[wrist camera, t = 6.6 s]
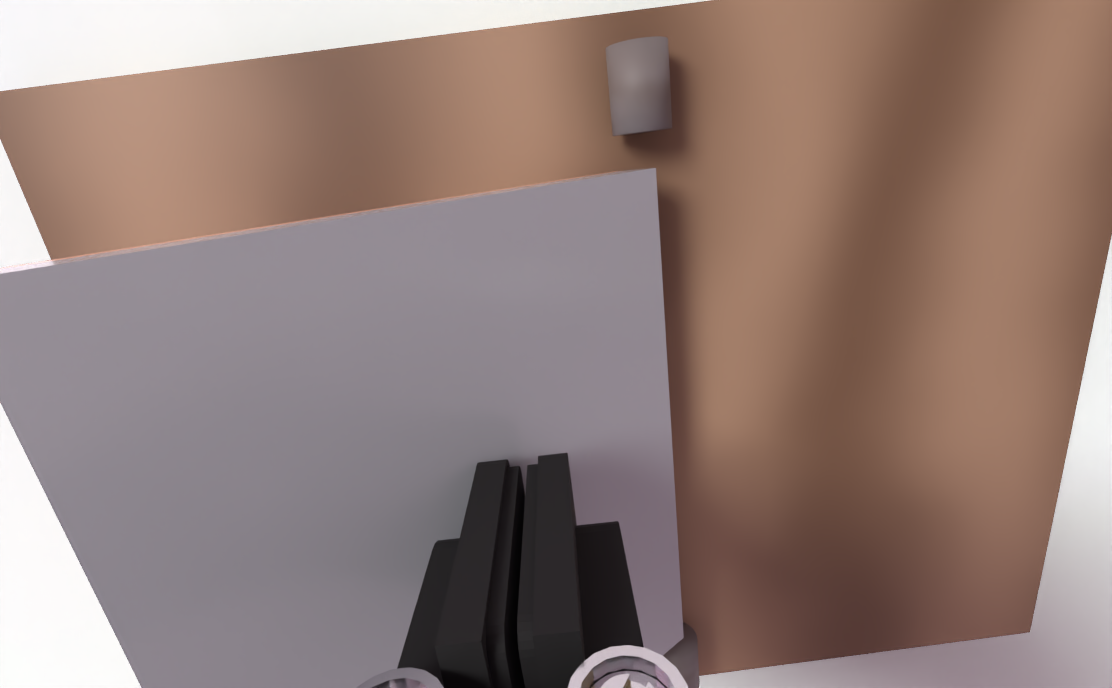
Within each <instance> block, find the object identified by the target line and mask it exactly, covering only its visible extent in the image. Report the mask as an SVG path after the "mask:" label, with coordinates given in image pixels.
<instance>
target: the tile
mask: <svg viewBox="0 0 1112 688" xmlns="http://www.w3.org/2000/svg"><path fill="white" fill-rule="evenodd" d="M0 403H1V405H2V407H3V409H4V411H5V413H6V415H7V417H8V419H9V421H10V423H11V425H12V427H13V429H14V431H15V433H16V435H17V437H18V439H19V441H20V443H21V445H22V447H23V449H24V451H25V453H26V455H27V457H28V459H29V461H30V463H31V465H32V467H33V469H34V471H35V473H36V475H37V477H38V479H39V481H40V483H41V485H42V487H43V489H44V491H45V493H46V495H47V497H48V499H49V501H50V503H51V506H52V508H53V510H54V512H55V514H56V516H57V518H58V520H59V522H60V524H61V526H62V528H63V530H64V532H65V534H66V536H67V538H68V540H69V542H70V544H71V546H72V548H73V550H74V552H75V554H76V556H77V558H78V560H79V562H80V564H81V566H82V568H83V570H84V572H85V574H86V576H87V578H88V580H89V582H90V584H91V586H92V588H93V590H94V592H95V594H96V596H97V598H98V600H99V602H100V604H101V607H102V609H103V611H104V613H105V615H106V617H107V619H108V621H109V623H110V625H111V627H112V629H113V631H114V633H115V635H116V637H117V639H118V641H119V643H120V645H121V647H122V649H123V651H124V653H125V655H126V657H127V659H128V661H129V663H130V665H131V667H132V669H133V671H134V673H135V675H136V677H137V679H138V681H139V683H140V685H141V687H142V688H356V687H357V686H359V685H361V684H362V683H364V682H365V681H367V680H369V679H370V678H372V677H373V676H375V675H378V674H381V673H383V672H386V671H389V670H392V669H397V667H398V664H399V660H400V657H401V654H402V650H403V647H404V644H405V640H406V637H407V633H408V630H409V627H410V623H411V620H412V617H413V613H414V610H415V606H416V603H417V600H418V596H419V593H420V590H421V586H422V583H423V579H424V576H425V573H426V569H427V566H428V563H429V559H430V556H431V552H432V549H433V547H434V544H435V543H436V542H437V541H438V540H447V539H456V538H460V534H461V530H462V526H463V521H464V517H465V513H466V509H467V504H468V500H469V496H470V491H471V487H472V483H473V479H474V474H475V470H476V466H477V463H479V462H487V461H496V460H505V459H508V461H509V464H510V467H514V466H520V468H521V472H522V478H523V485H524V491H525V492H526V476H527V465H532V464H538V456H541V455H550V454H559V453H568V459H569V467H570V475H571V483H572V491H573V499H574V507H575V515H576V523H577V525H586V524H595V523H605V522H614V521H618V522H619V525H620V530H621V535H622V540H623V545H624V550H625V555H626V560H627V565H628V570H629V575H630V580H631V585H632V590H633V595H634V600H635V605H636V610H637V615H638V620H639V626H640V631H641V636H642V641H643V646H644V648H647V649H649V650H652V651H654V652H656V653H658V654H660V655H662V656H663V655H664V654H665V653H666V652H668V651H669V650H670V649H671V648H672V647H673V646H675V645H676V644H677V643H678V642H679V641H680V640H682V639H683V638H684V635H683V618H682V601H681V584H680V567H679V550H678V534H677V517H676V500H675V483H674V466H673V449H672V432H671V415H670V399H669V382H668V365H667V348H666V331H665V314H664V297H663V280H662V264H661V247H660V230H659V213H658V196H657V179H656V168H649V169H636V170H624V171H613V172H607V173H600V174H594V175H588V176H581V177H575V178H569V179H562V180H556V181H550V182H543V183H537V184H531V185H524V186H518V187H511V188H505V189H499V190H492V191H486V192H480V193H473V194H467V195H461V196H454V197H448V198H441V199H435V200H429V201H422V202H416V203H410V204H403V205H397V206H391V207H384V208H378V209H372V210H365V211H359V212H352V213H346V214H340V215H333V216H327V217H321V218H314V219H308V220H302V221H295V222H289V223H282V224H276V225H270V226H263V227H257V228H251V229H244V230H238V231H232V232H225V233H219V234H212V235H206V236H200V237H193V238H187V239H181V240H174V241H168V242H162V243H155V244H149V245H143V246H136V247H130V248H123V249H117V250H111V251H104V252H98V253H92V254H85V255H79V256H73V257H66V258H60V259H53V260H47V261H41V262H34V263H28V264H22V265H15V266H9V267H3V268H0Z"/></svg>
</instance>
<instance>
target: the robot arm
mask: <svg viewBox="0 0 1112 688" xmlns="http://www.w3.org/2000/svg"><path fill="white" fill-rule="evenodd" d="M356 688H688V685H687V683H686V682H685V680H684V678H683V677H682V675H681V674H680V672H679V671H678V669H677V668H676V667H675V666H674V665H673V664H672V663H671V662H669V661H668V660H667V659H666V658H665V657H664V656H662V655H660V654H658V653H656V652H654V651H652V650H649V649H647V648H644V646H643V641H642V636H641V631H640V626H639V620H638V615H637V610H636V605H635V600H634V595H633V590H632V585H631V580H630V575H629V570H628V565H627V560H626V555H625V550H624V545H623V540H622V535H621V530H620V525H619V522H618V521H614V522H605V523H595V524H586V525H577V523H576V515H575V507H574V499H573V491H572V483H571V475H570V467H569V459H568V453H559V454H550V455H541V456H538V464H532V465H527V476H526V492H525V491H524V485H523V478H522V472H521V468H520V466H514V467H510V464H509V461H508V459H505V460H496V461H487V462H479V463H477V466H476V470H475V474H474V479H473V483H472V487H471V491H470V496H469V500H468V504H467V509H466V513H465V517H464V521H463V526H462V530H461V534H460V538H456V539H447V540H438V541H437V542H436V543H435V544H434V547H433V549H432V552H431V556H430V559H429V563H428V566H427V569H426V573H425V576H424V579H423V583H422V586H421V590H420V593H419V596H418V600H417V603H416V606H415V610H414V613H413V617H412V620H411V623H410V627H409V630H408V633H407V637H406V640H405V644H404V647H403V650H402V654H401V657H400V660H399V664H398V667H397V669H392V670H389V671H386V672H383V673H381V674H378V675H375V676H373V677H372V678H370V679H369V680H367V681H365V682H364V683H362V684H361V685H359V686H357V687H356Z"/></svg>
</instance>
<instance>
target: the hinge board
mask: <svg viewBox="0 0 1112 688" xmlns="http://www.w3.org/2000/svg"><path fill="white" fill-rule="evenodd" d="M0 139H1V142H2V144H3V146H4V149H5V151H6V153H7V156H8V158H9V160H10V163H11V165H12V168H13V170H14V172H15V175H16V177H17V179H18V182H19V184H20V186H21V189H22V191H23V194H24V196H25V198H26V201H27V203H28V205H29V208H30V210H31V212H32V215H33V217H34V220H35V222H36V224H37V227H38V229H39V231H40V234H41V236H42V239H43V241H44V243H45V246H46V248H47V250H48V253H49V255H50V257H51V260H53V259H60V258H66V257H73V256H79V255H85V254H92V253H98V252H104V251H111V250H117V249H123V248H130V247H136V246H143V245H149V244H155V243H162V242H168V241H174V240H181V239H187V238H193V237H200V236H206V235H212V234H219V233H225V232H232V231H238V230H244V229H251V228H257V227H263V226H270V225H276V224H282V223H289V222H295V221H302V220H308V219H314V218H321V217H327V216H333V215H340V214H346V213H352V212H359V211H365V210H372V209H378V208H384V207H391V206H397V205H403V204H410V203H416V202H422V201H429V200H435V199H441V198H448V197H454V196H461V195H467V194H473V193H480V192H486V191H492V190H499V189H505V188H511V187H518V186H524V185H531V184H537V183H543V182H550V181H556V180H562V179H569V178H575V177H581V176H588V175H594V174H600V173H607V172H613V171H624V170H636V169H649V168H656V179H657V196H658V213H659V230H660V247H661V264H662V280H663V297H664V314H665V331H666V348H667V365H668V382H669V399H670V415H671V432H672V449H673V466H674V483H675V500H676V517H677V534H678V550H679V567H680V584H681V601H682V618H683V635H684V638H683V639H682V640H680V641H679V642H678V643H677V644H676V645H675V646H673V647H672V648H671V649H670V650H669V651H668V652H666V653H665V654H664V655H663V656H664V657H665V658H666V659H667V660H668V661H669V662H671V663H672V664H673V665H674V666H675V667H676V668H677V669H678V671H679V672H680V674H681V675H682V677H683V678H684V680H685V682H686V683H687V685H688V688H699V676H701V675H708V674H716V673H724V672H731V671H739V670H746V669H754V668H761V667H769V666H777V665H784V664H792V663H799V662H807V661H815V660H822V659H830V658H837V657H845V656H853V655H860V654H868V653H875V652H883V651H891V650H898V649H906V648H913V647H921V646H929V645H936V644H944V643H951V642H959V641H966V640H974V639H982V638H989V637H997V636H1004V635H1012V634H1020V633H1027V632H1030V628H1031V623H1032V619H1033V614H1034V609H1035V604H1036V599H1037V594H1038V590H1039V585H1040V580H1041V575H1042V570H1043V565H1044V560H1045V556H1046V551H1047V546H1048V541H1049V536H1050V531H1051V526H1052V522H1053V517H1054V512H1055V507H1056V502H1057V497H1058V492H1059V488H1060V483H1061V478H1062V473H1063V468H1064V463H1065V458H1066V454H1067V449H1068V444H1069V439H1070V434H1071V429H1072V424H1073V420H1074V415H1075V410H1076V405H1077V400H1078V395H1079V390H1080V386H1081V381H1082V376H1083V371H1084V366H1085V361H1086V356H1087V352H1088V347H1089V342H1090V337H1091V332H1092V327H1093V322H1094V318H1095V313H1096V308H1097V303H1098V298H1099V293H1100V288H1101V284H1102V279H1103V274H1104V269H1105V264H1106V259H1107V254H1108V250H1109V245H1110V240H1111V235H1112V0H712V1H704V2H696V3H688V4H681V5H673V6H665V7H657V8H649V9H641V10H634V11H626V12H618V13H610V14H602V15H594V16H587V17H579V18H571V19H563V20H555V21H547V22H540V23H532V24H524V25H516V26H508V27H500V28H493V29H485V30H477V31H469V32H461V33H453V34H446V35H438V36H430V37H422V38H414V39H406V40H398V41H391V42H383V43H375V44H367V45H359V46H351V47H344V48H336V49H328V50H320V51H312V52H304V53H297V54H289V55H281V56H273V57H265V58H257V59H250V60H242V61H234V62H226V63H218V64H210V65H203V66H195V67H187V68H179V69H171V70H163V71H156V72H148V73H140V74H132V75H124V76H116V77H109V78H101V79H93V80H85V81H77V82H69V83H62V84H54V85H46V86H38V87H30V88H22V89H15V90H7V91H0Z"/></svg>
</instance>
